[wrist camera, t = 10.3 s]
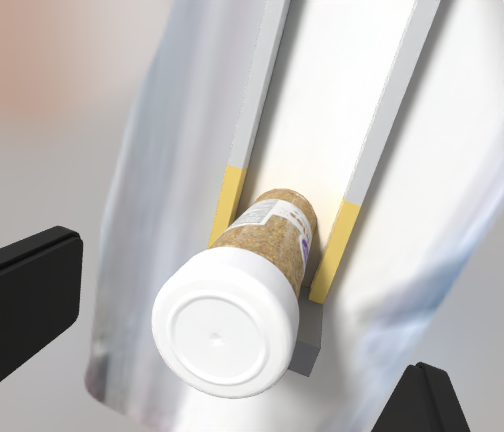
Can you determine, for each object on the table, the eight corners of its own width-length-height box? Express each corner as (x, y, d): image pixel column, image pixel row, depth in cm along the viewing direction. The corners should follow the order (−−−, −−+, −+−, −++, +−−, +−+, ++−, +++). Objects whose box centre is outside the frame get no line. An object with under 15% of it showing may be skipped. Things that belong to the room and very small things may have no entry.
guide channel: (319, -188, 16) (311, -353, 11) (498, -165, 15) (596, -338, 9) (206, 277, 25) (168, 321, 19) (314, 317, 24) (308, 377, 18)
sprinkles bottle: (325, 241, 22) (314, 397, 9) (262, 258, 23) (179, 413, 11) (303, 176, 21) (260, 251, 9) (240, 198, 23) (122, 289, 10)
